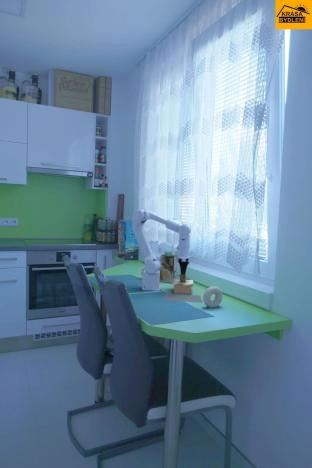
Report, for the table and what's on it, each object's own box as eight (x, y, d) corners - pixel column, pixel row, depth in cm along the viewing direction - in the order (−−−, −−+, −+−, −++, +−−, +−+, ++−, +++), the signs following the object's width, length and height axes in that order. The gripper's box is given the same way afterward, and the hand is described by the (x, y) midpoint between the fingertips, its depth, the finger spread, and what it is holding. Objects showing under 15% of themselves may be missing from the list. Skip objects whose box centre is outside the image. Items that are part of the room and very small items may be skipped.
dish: (173, 294, 175) (174, 284, 174) (173, 290, 184) (174, 281, 183) (191, 295, 174) (191, 285, 174) (190, 291, 183) (190, 281, 183)
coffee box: (176, 281, 207) (177, 255, 205) (173, 283, 201) (174, 256, 200) (162, 279, 210) (163, 254, 209) (159, 281, 204) (160, 255, 203)
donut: (205, 310, 149) (206, 287, 148) (200, 308, 152) (201, 286, 151) (223, 308, 153) (224, 286, 152) (218, 305, 156) (219, 284, 156)
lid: (172, 285, 173) (172, 275, 173) (172, 280, 184) (172, 271, 184) (193, 286, 173) (194, 276, 172) (192, 281, 184) (192, 272, 183)
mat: (163, 301, 160) (164, 300, 160) (164, 294, 173) (164, 293, 173) (202, 303, 159) (202, 302, 159) (200, 296, 172) (200, 295, 172)
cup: (157, 280, 207) (158, 266, 207) (141, 280, 205) (142, 266, 205) (155, 278, 214) (156, 264, 214) (140, 278, 213) (140, 264, 212)
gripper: (192, 249, 170) (191, 276, 171) (191, 246, 184) (189, 271, 185) (178, 248, 170) (177, 275, 171) (178, 245, 185) (177, 270, 186)
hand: (182, 273), depth 178 cm, fingers open, 7 cm apart
